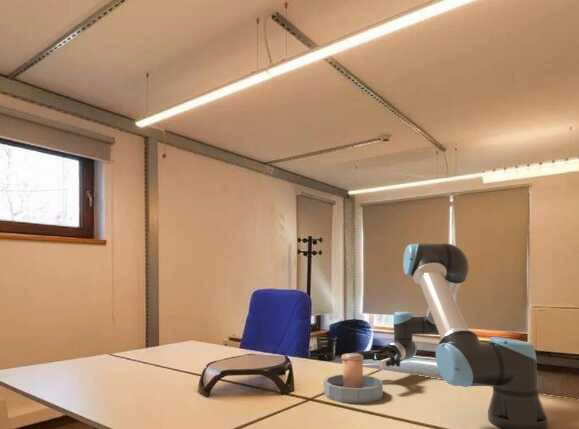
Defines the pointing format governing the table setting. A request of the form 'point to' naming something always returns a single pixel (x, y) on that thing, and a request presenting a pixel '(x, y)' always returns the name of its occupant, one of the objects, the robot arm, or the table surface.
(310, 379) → the table surface
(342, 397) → the slate bowl
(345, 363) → the terracotta jar
